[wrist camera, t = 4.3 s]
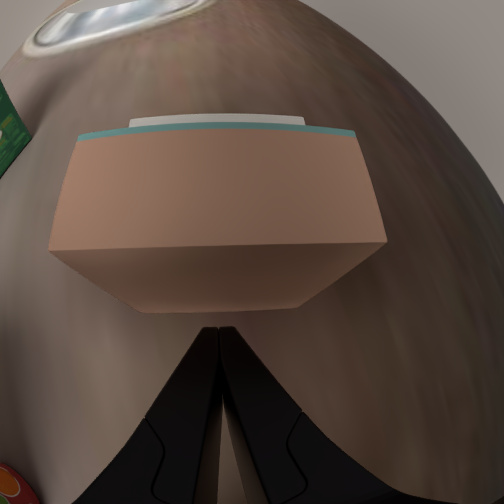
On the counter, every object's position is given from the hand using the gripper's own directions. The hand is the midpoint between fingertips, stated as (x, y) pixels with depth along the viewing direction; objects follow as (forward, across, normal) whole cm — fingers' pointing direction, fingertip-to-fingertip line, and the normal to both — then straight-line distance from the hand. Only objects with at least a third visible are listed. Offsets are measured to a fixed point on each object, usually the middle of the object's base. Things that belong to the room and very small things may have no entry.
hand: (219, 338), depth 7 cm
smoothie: (-4, +17, +15) cm, 23 cm away
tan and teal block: (+9, 0, +3) cm, 9 cm away
